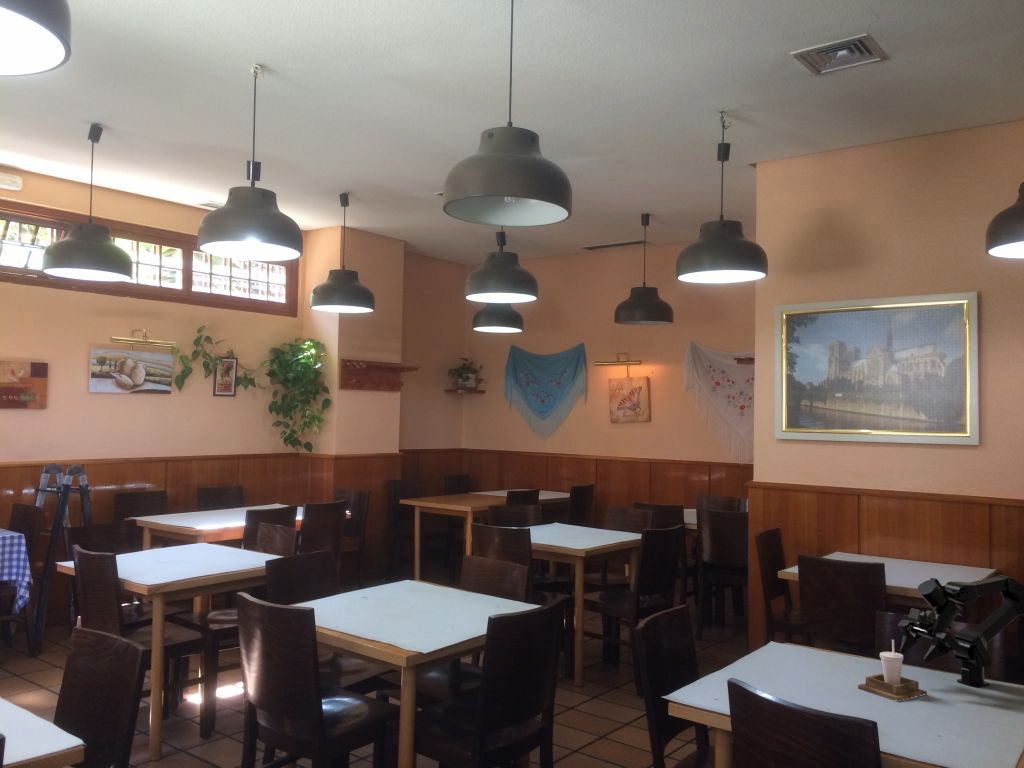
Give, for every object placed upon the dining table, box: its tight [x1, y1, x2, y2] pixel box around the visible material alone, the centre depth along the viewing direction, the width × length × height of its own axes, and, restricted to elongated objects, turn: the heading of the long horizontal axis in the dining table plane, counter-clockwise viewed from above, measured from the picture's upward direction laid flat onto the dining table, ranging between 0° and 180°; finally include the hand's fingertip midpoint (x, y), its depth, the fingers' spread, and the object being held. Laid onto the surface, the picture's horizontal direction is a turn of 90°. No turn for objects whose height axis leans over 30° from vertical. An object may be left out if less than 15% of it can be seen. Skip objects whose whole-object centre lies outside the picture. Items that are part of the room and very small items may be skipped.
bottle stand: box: [857, 673, 928, 702], centre depth 230 cm, size 13×13×4 cm
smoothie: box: [879, 639, 904, 685], centre depth 231 cm, size 6×6×14 cm
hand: (912, 657), depth 233 cm, fingers open, 9 cm apart
